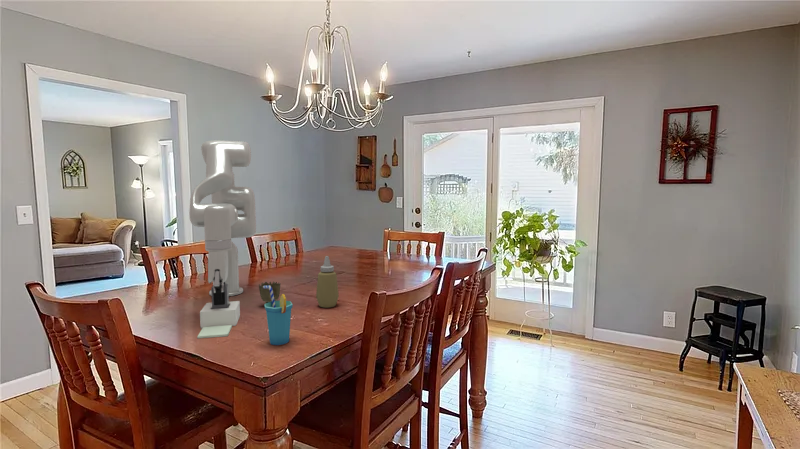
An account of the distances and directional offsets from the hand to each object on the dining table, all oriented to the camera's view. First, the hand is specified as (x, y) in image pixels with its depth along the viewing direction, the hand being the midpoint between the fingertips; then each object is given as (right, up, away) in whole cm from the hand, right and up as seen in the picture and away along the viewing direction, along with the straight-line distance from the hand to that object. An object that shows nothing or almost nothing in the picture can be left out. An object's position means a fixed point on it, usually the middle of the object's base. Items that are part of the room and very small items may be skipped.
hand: (220, 301), depth 131 cm
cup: (+23, -8, -15) cm, 29 cm away
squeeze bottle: (+31, -5, +18) cm, 36 cm away
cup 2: (+10, -5, +18) cm, 21 cm away
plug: (0, -5, 0) cm, 5 cm away
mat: (+3, -7, -9) cm, 12 cm away
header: (0, -6, 0) cm, 6 cm away
